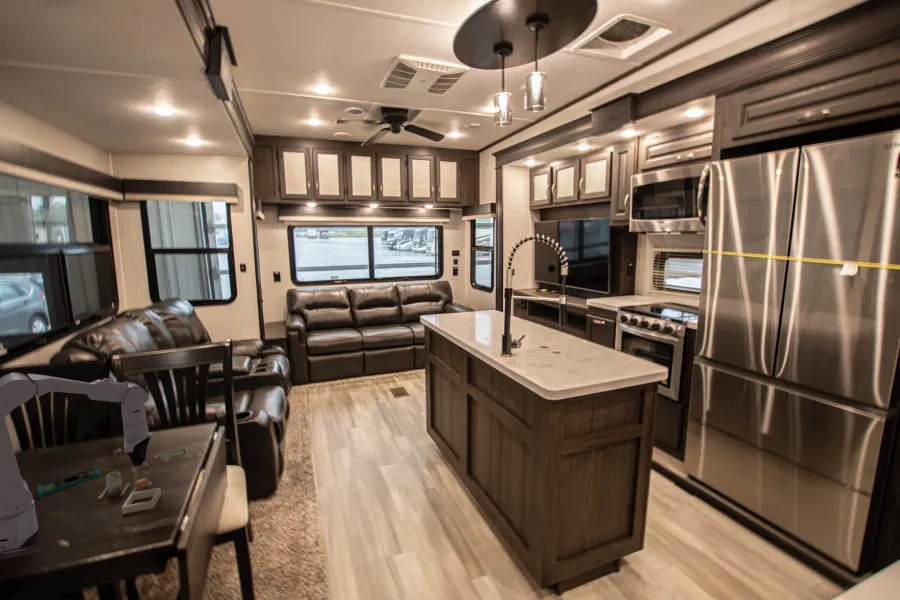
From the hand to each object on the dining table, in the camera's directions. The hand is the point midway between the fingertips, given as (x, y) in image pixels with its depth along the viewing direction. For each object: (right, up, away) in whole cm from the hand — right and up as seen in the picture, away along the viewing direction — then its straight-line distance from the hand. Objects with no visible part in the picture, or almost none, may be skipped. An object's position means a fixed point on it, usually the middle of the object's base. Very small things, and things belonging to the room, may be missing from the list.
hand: (139, 463), depth 127 cm
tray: (+6, -10, -7) cm, 14 cm away
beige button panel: (-3, -10, 0) cm, 10 cm away
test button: (0, -8, +1) cm, 8 cm away
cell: (-7, -9, -1) cm, 11 cm away
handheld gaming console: (-3, -8, +19) cm, 21 cm away
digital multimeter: (-26, -10, +5) cm, 28 cm away
